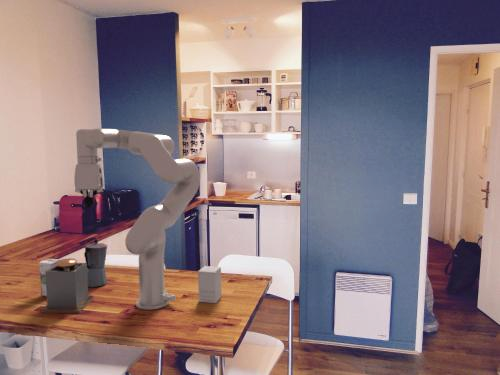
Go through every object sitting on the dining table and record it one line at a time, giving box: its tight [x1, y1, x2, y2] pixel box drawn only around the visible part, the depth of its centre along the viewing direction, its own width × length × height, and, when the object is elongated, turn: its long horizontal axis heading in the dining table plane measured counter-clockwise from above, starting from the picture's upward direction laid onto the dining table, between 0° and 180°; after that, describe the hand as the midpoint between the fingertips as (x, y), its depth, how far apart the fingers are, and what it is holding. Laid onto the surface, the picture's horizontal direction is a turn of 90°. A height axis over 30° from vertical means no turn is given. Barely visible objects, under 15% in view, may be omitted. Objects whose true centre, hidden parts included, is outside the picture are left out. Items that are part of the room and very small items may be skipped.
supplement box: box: [197, 265, 222, 304], centre depth 168 cm, size 7×7×13 cm
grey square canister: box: [40, 262, 95, 314], centre depth 162 cm, size 14×14×15 cm
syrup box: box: [38, 258, 59, 298], centre depth 173 cm, size 6×6×14 cm
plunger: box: [56, 257, 78, 271], centre depth 162 cm, size 8×8×14 cm
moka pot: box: [83, 239, 108, 288], centre depth 185 cm, size 10×15×20 cm, turn 174°
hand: (89, 206), depth 168 cm, fingers closed
